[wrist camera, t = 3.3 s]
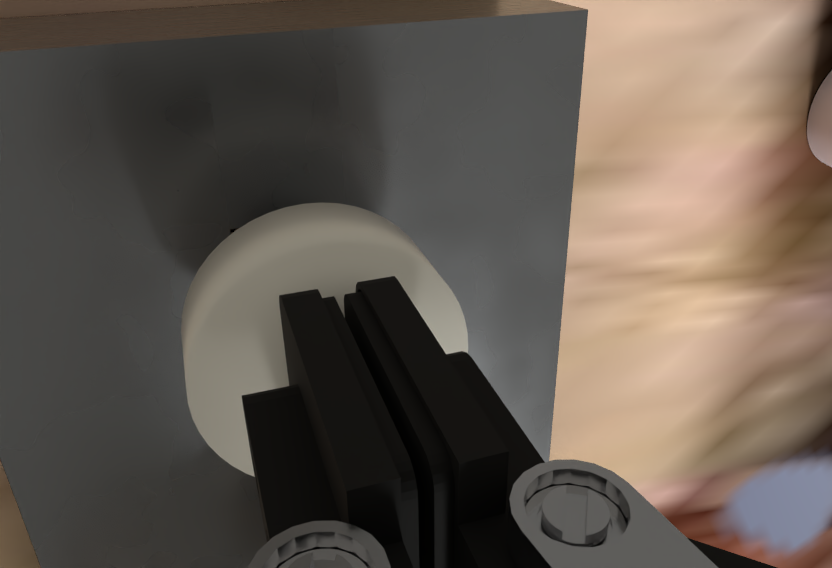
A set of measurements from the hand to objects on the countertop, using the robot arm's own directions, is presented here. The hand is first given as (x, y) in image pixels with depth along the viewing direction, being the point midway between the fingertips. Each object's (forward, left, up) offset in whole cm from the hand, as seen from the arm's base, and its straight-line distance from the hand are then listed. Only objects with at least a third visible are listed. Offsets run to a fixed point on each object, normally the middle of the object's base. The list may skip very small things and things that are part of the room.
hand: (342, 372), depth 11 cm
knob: (0, 0, -4) cm, 4 cm away
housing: (-4, 0, -8) cm, 9 cm away
